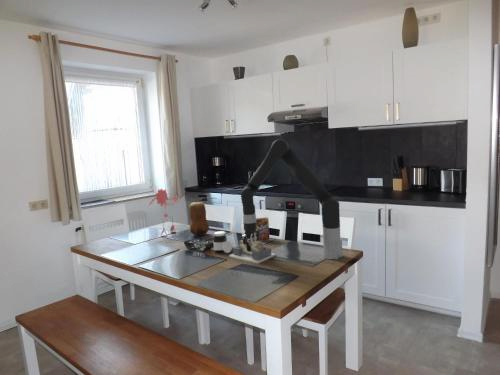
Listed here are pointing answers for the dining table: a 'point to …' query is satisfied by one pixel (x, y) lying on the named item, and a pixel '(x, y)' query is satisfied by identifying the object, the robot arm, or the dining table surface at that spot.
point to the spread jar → (221, 242)
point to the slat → (252, 246)
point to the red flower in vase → (162, 198)
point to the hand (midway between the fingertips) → (251, 249)
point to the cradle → (252, 255)
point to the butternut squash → (198, 219)
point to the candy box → (263, 228)
